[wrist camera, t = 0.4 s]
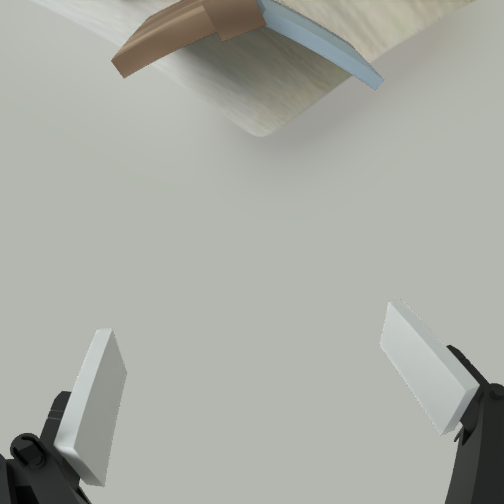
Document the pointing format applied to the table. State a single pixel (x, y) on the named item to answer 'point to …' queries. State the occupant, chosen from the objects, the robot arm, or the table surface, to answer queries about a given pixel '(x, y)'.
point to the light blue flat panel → (318, 40)
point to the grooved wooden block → (186, 29)
